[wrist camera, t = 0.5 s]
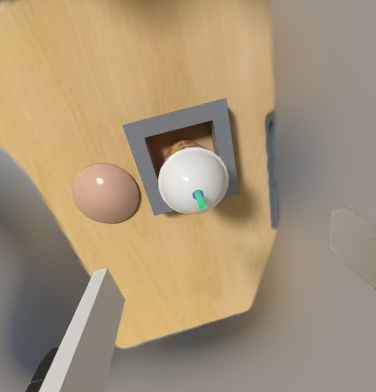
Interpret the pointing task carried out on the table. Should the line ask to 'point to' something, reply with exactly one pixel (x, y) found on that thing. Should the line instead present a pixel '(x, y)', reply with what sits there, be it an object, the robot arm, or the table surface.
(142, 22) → the table surface
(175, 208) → the smoothie
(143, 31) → the table surface
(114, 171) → the pink flat disc
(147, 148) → the holder
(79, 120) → the table surface
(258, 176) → the table surface
